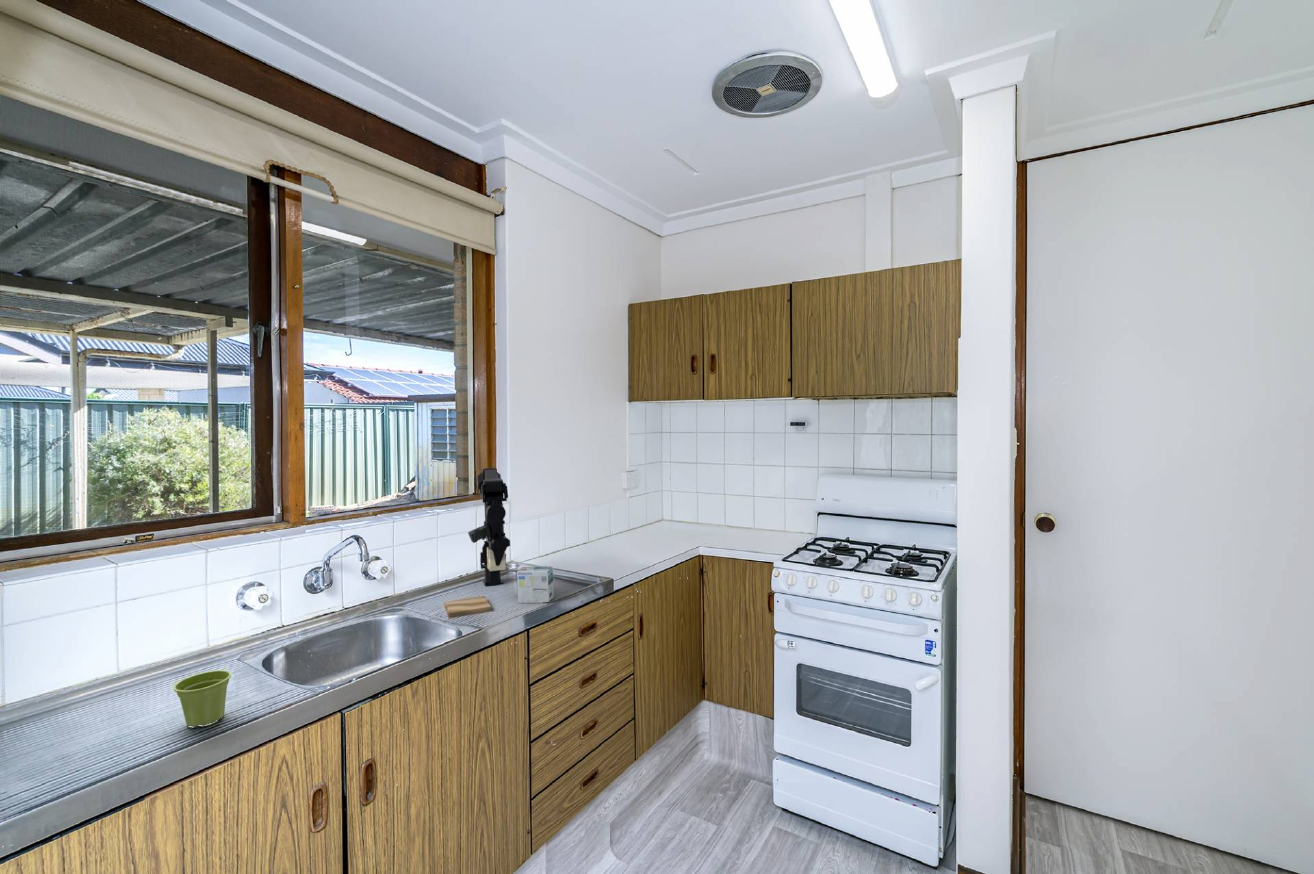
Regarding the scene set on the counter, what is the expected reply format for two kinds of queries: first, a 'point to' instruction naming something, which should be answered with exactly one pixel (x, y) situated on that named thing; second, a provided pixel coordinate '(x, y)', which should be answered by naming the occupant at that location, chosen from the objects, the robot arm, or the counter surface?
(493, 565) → the beech block
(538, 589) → the light bulb box
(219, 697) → the plant pot
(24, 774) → the counter surface
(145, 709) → the counter surface
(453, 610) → the tan wooden panel
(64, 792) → the counter surface
